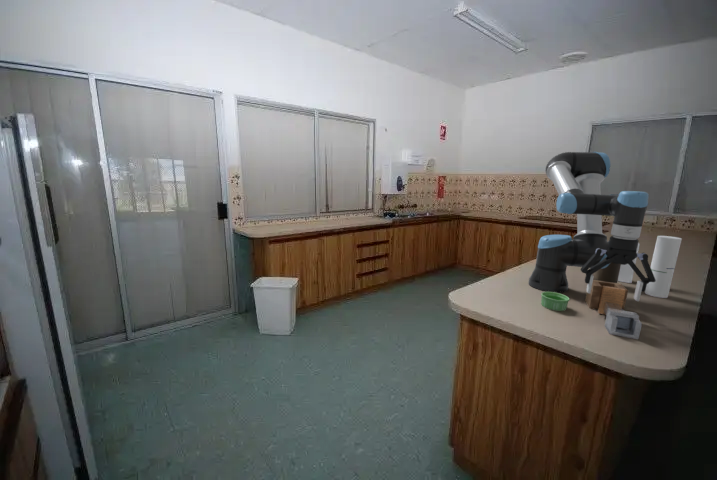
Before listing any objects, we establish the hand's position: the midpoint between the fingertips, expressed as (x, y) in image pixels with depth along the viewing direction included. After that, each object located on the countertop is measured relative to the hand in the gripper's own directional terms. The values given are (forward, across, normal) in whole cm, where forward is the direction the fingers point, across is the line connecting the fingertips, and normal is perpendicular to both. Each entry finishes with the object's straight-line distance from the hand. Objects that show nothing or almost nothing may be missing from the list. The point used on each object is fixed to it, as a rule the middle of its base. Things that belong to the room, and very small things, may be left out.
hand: (611, 295), depth 109 cm
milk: (+9, +17, +53) cm, 56 cm away
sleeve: (+7, 0, -15) cm, 17 cm away
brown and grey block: (+7, 0, -5) cm, 8 cm away
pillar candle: (+8, +7, +42) cm, 43 cm away
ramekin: (+7, -17, -2) cm, 19 cm away
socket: (+7, 0, +7) cm, 10 cm away
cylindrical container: (+8, +24, +36) cm, 44 cm away
